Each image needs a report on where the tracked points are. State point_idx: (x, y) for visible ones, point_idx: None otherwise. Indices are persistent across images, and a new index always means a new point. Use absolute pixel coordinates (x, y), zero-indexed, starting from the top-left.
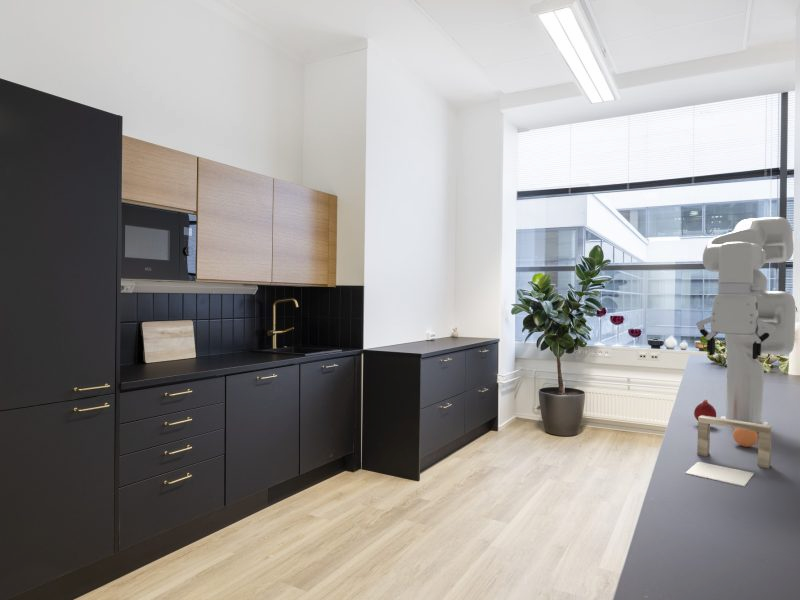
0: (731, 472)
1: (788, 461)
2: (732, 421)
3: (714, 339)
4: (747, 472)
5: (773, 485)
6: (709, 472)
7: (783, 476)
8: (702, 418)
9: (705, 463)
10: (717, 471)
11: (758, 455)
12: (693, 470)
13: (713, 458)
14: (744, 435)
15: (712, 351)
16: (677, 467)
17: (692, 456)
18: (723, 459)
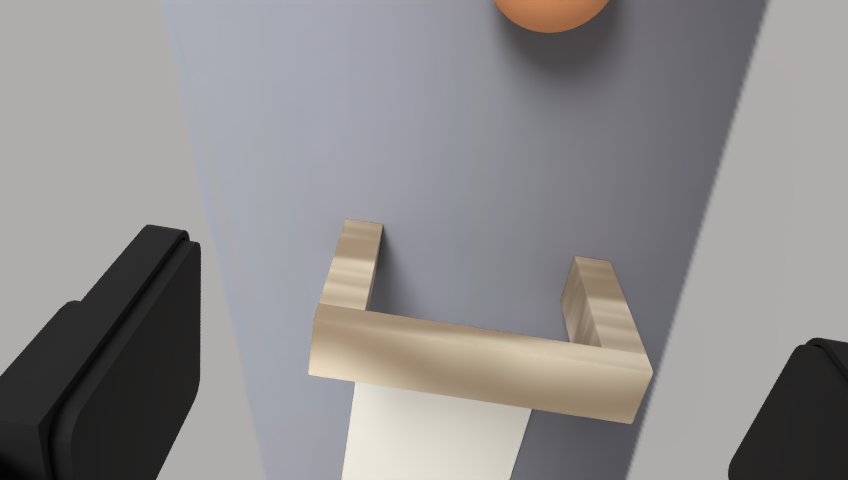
0: (466, 428)
1: (706, 146)
2: (471, 378)
3: (36, 429)
4: None
5: (578, 466)
6: (403, 459)
7: None
8: (329, 375)
9: None
10: (425, 439)
11: (567, 328)
12: (357, 465)
13: (403, 284)
14: (543, 31)
15: (179, 417)
16: (308, 449)
17: None
18: (440, 276)
